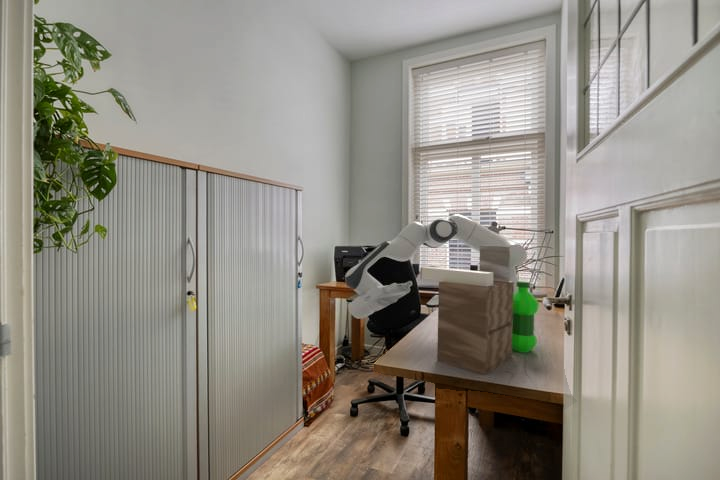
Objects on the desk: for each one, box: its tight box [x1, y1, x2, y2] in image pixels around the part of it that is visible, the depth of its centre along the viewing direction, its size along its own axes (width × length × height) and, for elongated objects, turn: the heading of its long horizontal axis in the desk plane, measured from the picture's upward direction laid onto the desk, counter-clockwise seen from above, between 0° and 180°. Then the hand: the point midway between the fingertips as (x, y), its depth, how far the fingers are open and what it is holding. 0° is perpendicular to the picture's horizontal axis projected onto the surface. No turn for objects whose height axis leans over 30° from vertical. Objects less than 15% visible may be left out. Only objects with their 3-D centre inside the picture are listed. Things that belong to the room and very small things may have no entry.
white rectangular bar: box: [420, 266, 493, 287], centre depth 115 cm, size 5×24×4 cm, turn 46°
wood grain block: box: [436, 245, 514, 376], centre depth 116 cm, size 22×16×38 cm
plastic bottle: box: [512, 280, 540, 354], centre depth 126 cm, size 10×10×25 cm
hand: (403, 283), depth 130 cm, fingers open, 8 cm apart
